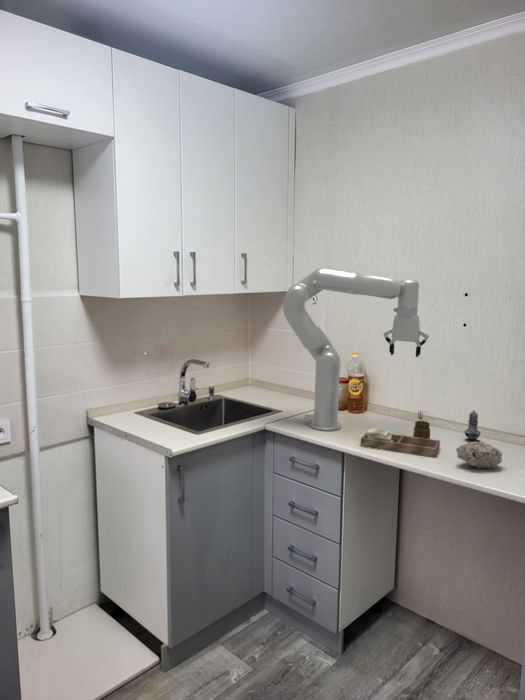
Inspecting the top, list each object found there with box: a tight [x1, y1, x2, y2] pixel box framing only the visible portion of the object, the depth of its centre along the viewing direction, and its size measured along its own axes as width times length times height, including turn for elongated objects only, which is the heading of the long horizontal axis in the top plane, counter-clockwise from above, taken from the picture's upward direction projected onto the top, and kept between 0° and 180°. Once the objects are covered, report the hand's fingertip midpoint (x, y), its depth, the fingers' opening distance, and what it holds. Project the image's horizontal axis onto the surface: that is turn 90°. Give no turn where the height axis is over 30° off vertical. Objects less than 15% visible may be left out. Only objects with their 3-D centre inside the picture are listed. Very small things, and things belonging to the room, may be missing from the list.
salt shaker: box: [463, 409, 481, 443], centre depth 203 cm, size 6×6×12 cm
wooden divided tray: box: [360, 431, 441, 458], centre depth 193 cm, size 26×11×3 cm, turn 66°
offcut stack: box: [366, 428, 393, 442], centre depth 195 cm, size 9×7×5 cm
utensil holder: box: [412, 410, 431, 439], centre depth 201 cm, size 6×6×12 cm
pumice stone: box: [456, 441, 503, 469], centre depth 175 cm, size 14×12×8 cm
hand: (404, 355), depth 212 cm, fingers open, 9 cm apart
